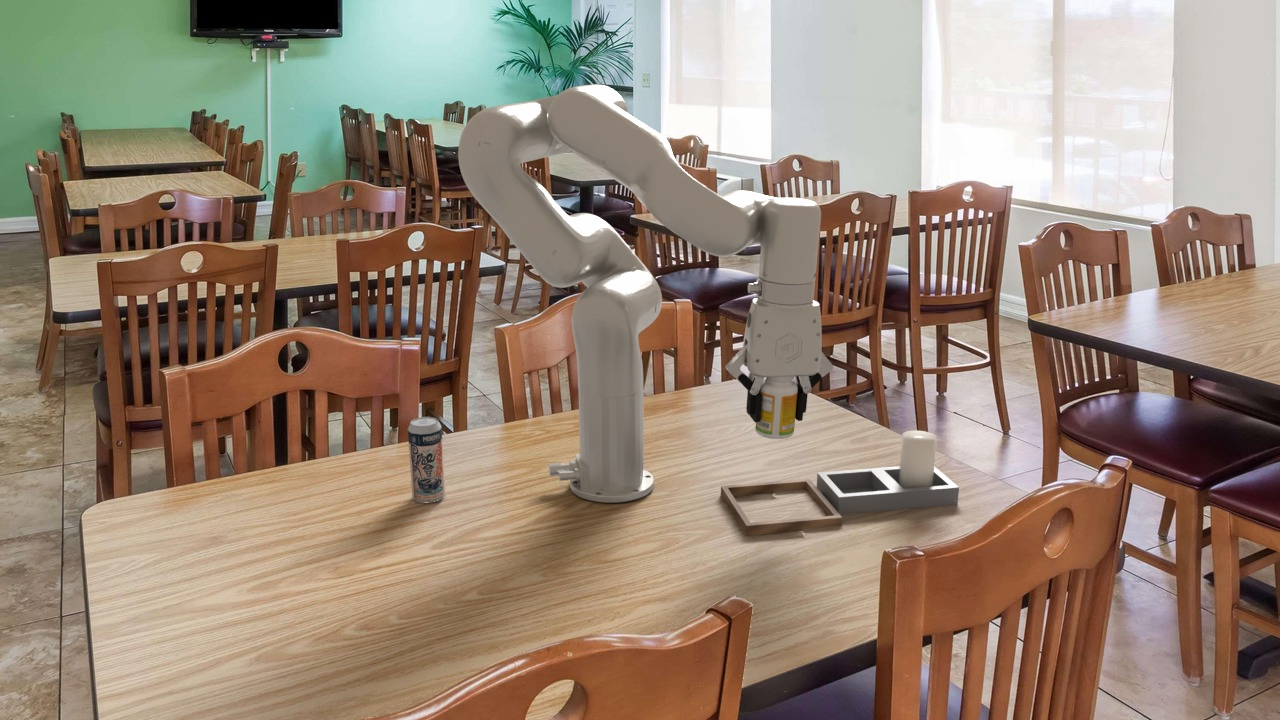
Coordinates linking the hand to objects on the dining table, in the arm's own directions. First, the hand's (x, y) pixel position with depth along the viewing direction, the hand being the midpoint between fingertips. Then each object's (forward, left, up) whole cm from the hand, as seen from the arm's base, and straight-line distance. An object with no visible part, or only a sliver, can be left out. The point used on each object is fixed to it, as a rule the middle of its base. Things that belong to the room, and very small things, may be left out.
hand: (775, 416), depth 150 cm
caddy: (+17, 0, -14) cm, 22 cm away
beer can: (-48, +14, -14) cm, 52 cm away
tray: (+1, -1, -14) cm, 14 cm away
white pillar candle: (+22, +1, -14) cm, 26 cm away
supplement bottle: (0, 0, -3) cm, 3 cm away
